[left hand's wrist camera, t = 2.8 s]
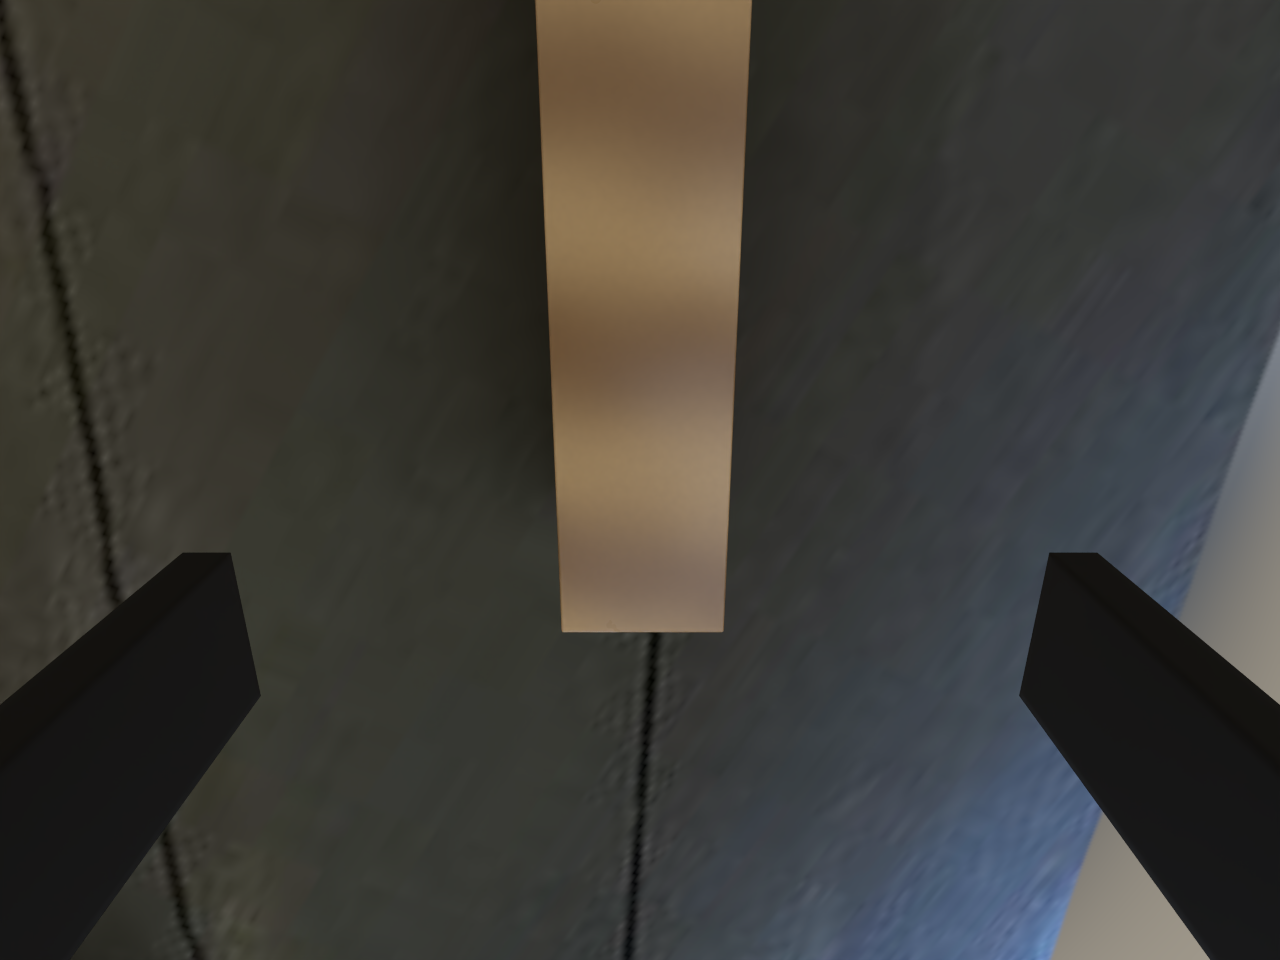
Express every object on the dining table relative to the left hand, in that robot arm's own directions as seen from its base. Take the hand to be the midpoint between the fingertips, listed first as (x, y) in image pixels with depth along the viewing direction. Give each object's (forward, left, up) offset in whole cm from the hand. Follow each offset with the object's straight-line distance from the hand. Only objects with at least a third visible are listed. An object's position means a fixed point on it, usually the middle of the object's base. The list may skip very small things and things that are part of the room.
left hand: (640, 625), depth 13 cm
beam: (+3, +28, -17) cm, 33 cm away
